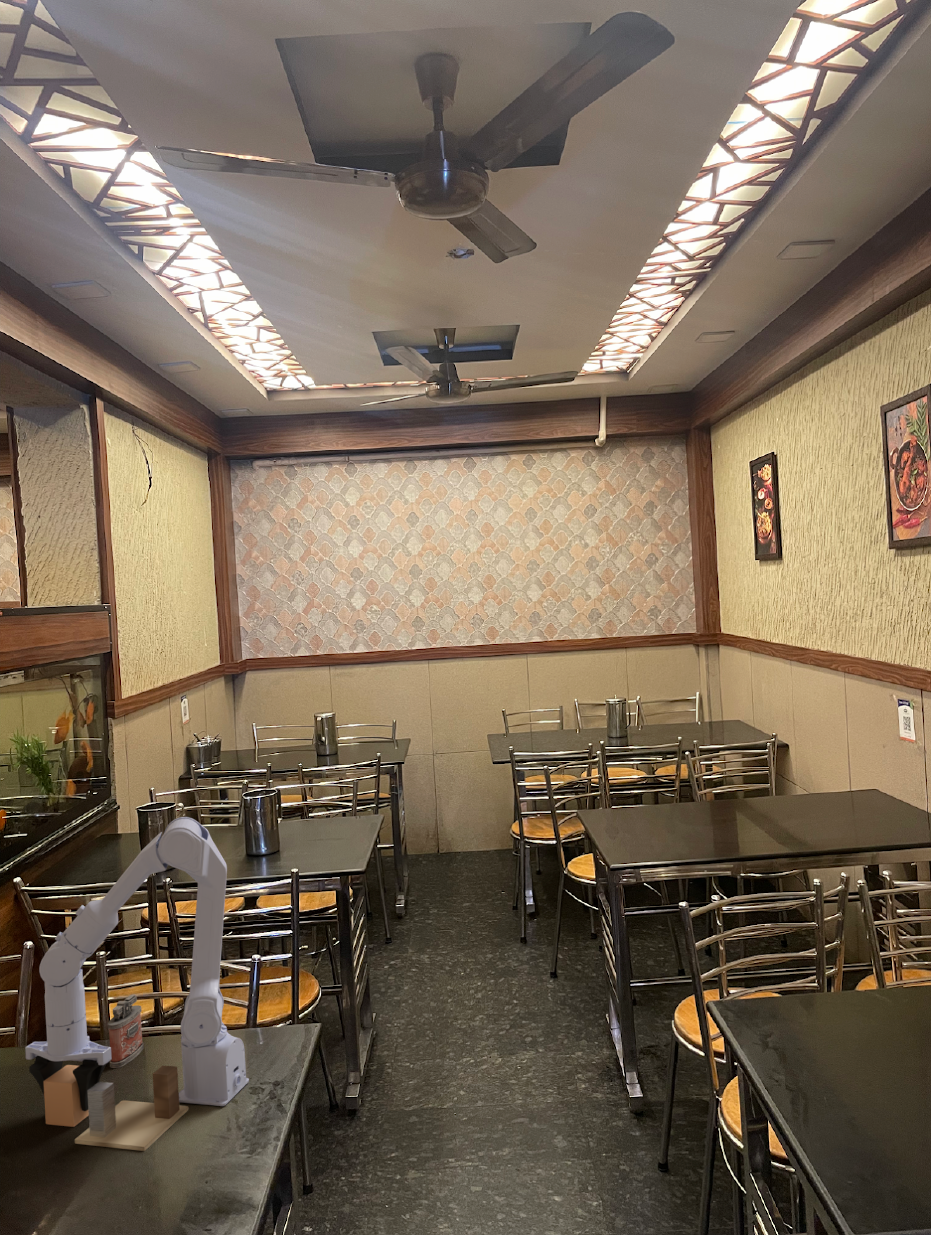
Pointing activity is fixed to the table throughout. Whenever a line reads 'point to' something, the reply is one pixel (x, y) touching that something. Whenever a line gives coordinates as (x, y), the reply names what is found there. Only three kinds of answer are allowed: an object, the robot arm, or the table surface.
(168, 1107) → the post
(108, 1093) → the post
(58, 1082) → the tan rectangular block
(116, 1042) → the lighter
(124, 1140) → the board
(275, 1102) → the table surface
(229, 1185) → the table surface
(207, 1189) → the table surface
